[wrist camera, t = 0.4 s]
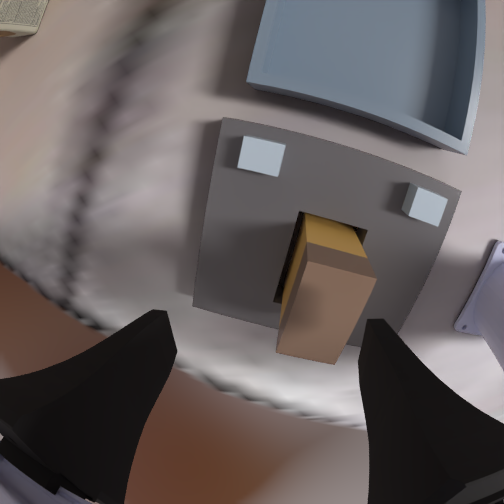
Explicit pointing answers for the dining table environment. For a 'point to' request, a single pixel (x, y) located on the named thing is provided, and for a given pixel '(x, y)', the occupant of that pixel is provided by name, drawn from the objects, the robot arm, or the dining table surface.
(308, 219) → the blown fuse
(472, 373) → the dining table surface
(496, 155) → the dining table surface
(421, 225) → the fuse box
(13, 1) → the skincare box
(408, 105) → the parts tray
